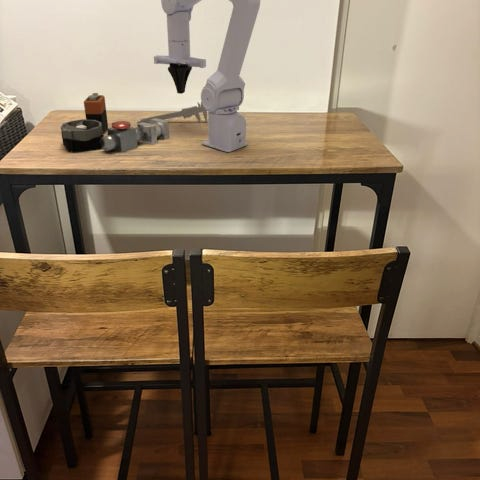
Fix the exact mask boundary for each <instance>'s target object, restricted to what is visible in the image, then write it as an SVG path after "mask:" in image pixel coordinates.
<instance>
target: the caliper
mask: <svg viewBox="0 0 480 480" xmlns="http://www.w3.org/2000/svg"><path fill="white" fill-rule="evenodd" d="M200 113H203V117H204V118H203V119H204V122H205V123H207V122H208V111H206V109H205V108H204V106H203V104H202V102H201V101H200V102H198V101H197V105H193V106H189V107H184V108H181V110H176V111H171V112H165V113H161V114H156V115H151V116H147V117H142V118H140V120H137V121H136V124H139V123H142V122H143V123H148V124H151V123H150V120H151V119H154V118H158V119H162V120H169V119H174V118H180V117H183V119H186V118H187V119H189V118H191V117H192V116H195V118H196V120H197V122H198V123H200V124H201V123H202V121H201V115H200Z"/></svg>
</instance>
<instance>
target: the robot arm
mask: <svg viewBox="0 0 480 480" xmlns="http://www.w3.org/2000/svg"><path fill="white" fill-rule="evenodd" d="M201 1H202V0H160V3H161V8H162V10H163V12H164V13H165V14H166V28H167V29H166V30H167V31H166V32H167V46H168V49H167V50H168V55H159V54H157V55H155V56H153V64H155V65H160V64H161V65H169V66H168V67H167V70H168V72H169V75H170V77H172V80H173V82H174V86H175V89H176V94H181V95H183V94H184V93H185V92H186V87H187V82H188V78H189V76H190V74H191V71H192V69H193V67H194V68H201V69H204V68H206V67H207V60H206V59H205V58H198V57H193V56H192V57H191V40H190V39H191V38H190V37H191V35H190V21H191V20H192V12H193V10H194V6H195V5H197V4H198V3H199V2H201ZM228 1H229V2H230V3H232V5H233V6H232V7H233V8H232V11H231V15H230V19H229V22H228V26H227V31H226V34H225V38H224V43H223V47H222V49H221V54H220V58H219V61H218V64H217V65H218V66H217V70H216V71H215V72H214V73H213V74H211V75H210V76H209V77H208V78H207V79H206V82H205V86H204V87H202V90H201V93H200V103H201V102H202V104H203V106H204V108H205V109H206V111H207V122H208V123H207V124H208V139H207V140H205V141H202V142H201V145H204V146H206V147H210V148H213V149H216V150H220V151H222V152H223V151H224V152H226V153H230V152H233V151H236V150H238V149H241V148H243V147H245V146H248V142H247V121H246V118H245V116H243V115H242V114H240V113H239V112H238V111H239V110H240V106H241V105H242V104H243V102H244V97H245V95H244V94H245V93H244V92H245V91H244V90H245V86H246V83H245V82H244V80H243V78H242V77H241V76H240V74H241V72H242V68H243V65H244V64H243V63H244V61H245V58H246V55H247V51H248V49H249V48H248V47H249V44H250V41H251V37H252V35H253V30H254V27H255V24H256V22H257V21H256V20H257V18H258V14H259V10H260V7H261V0H228Z"/></svg>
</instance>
